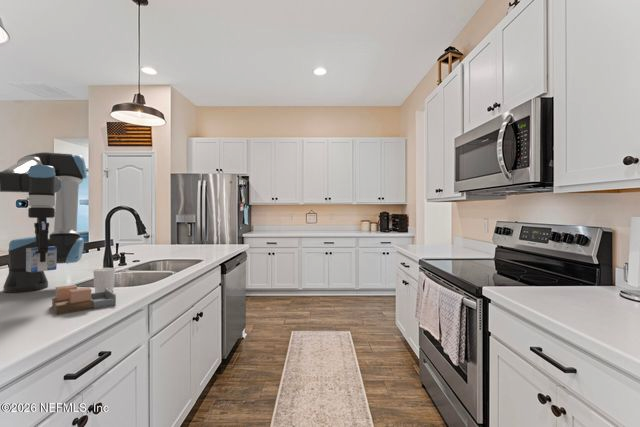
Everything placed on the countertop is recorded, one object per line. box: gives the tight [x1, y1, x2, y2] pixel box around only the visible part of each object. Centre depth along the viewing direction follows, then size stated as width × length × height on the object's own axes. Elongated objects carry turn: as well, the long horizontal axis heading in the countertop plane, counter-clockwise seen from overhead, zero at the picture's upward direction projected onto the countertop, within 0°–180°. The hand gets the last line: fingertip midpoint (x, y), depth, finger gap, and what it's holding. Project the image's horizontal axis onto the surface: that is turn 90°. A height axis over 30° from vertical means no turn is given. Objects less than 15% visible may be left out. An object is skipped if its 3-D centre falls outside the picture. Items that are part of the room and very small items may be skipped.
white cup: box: [93, 267, 116, 293], centre depth 145 cm, size 8×8×10 cm
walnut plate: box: [51, 297, 93, 315], centre depth 123 cm, size 14×10×3 cm
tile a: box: [55, 284, 78, 300], centre depth 125 cm, size 4×6×4 cm
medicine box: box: [26, 246, 57, 272], centre depth 123 cm, size 8×4×9 cm, turn 148°
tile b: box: [69, 286, 92, 303], centre depth 121 cm, size 4×6×4 cm
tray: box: [91, 288, 117, 309], centre depth 129 cm, size 14×7×4 cm, turn 44°
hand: (41, 269), depth 123 cm, fingers closed on medicine box, 5 cm apart
